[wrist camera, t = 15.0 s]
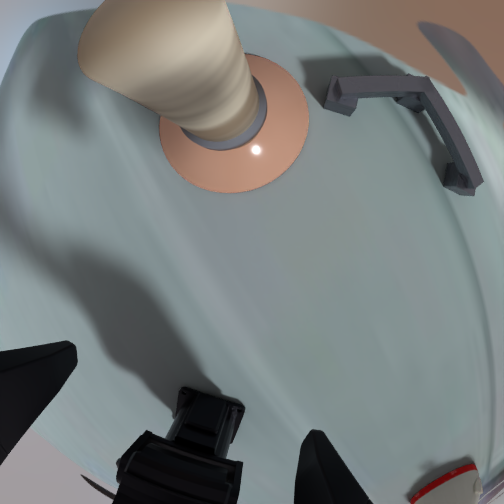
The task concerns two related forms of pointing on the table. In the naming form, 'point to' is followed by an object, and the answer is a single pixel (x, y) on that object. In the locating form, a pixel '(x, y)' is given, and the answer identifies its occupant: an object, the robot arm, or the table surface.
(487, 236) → the table surface
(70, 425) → the table surface
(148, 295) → the table surface
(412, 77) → the grey angled bracket
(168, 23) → the birch ring post
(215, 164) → the terracotta coaster
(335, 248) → the table surface
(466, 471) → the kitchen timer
